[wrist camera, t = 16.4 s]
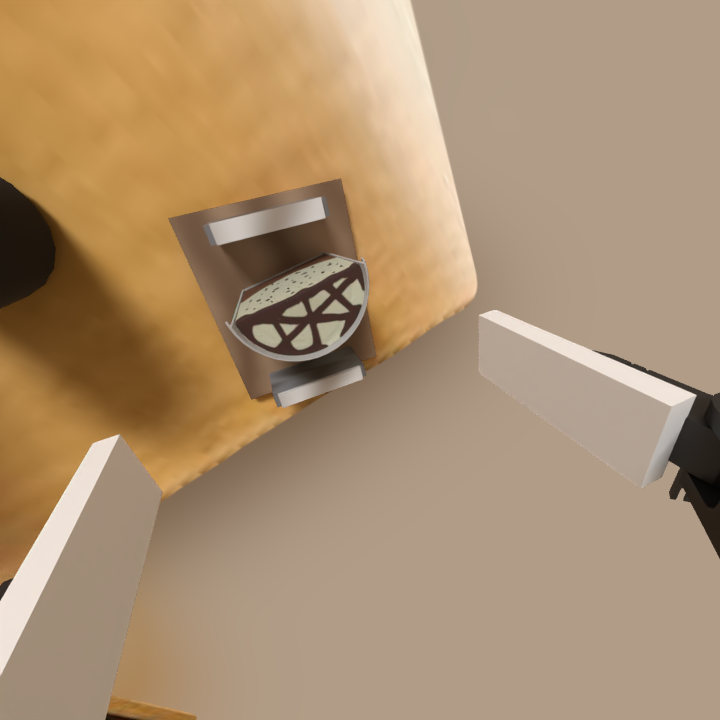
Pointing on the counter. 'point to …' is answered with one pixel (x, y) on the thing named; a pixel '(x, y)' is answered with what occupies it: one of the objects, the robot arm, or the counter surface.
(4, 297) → the coffee jar
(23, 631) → the robot arm
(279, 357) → the food container
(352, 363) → the holder
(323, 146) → the counter surface
